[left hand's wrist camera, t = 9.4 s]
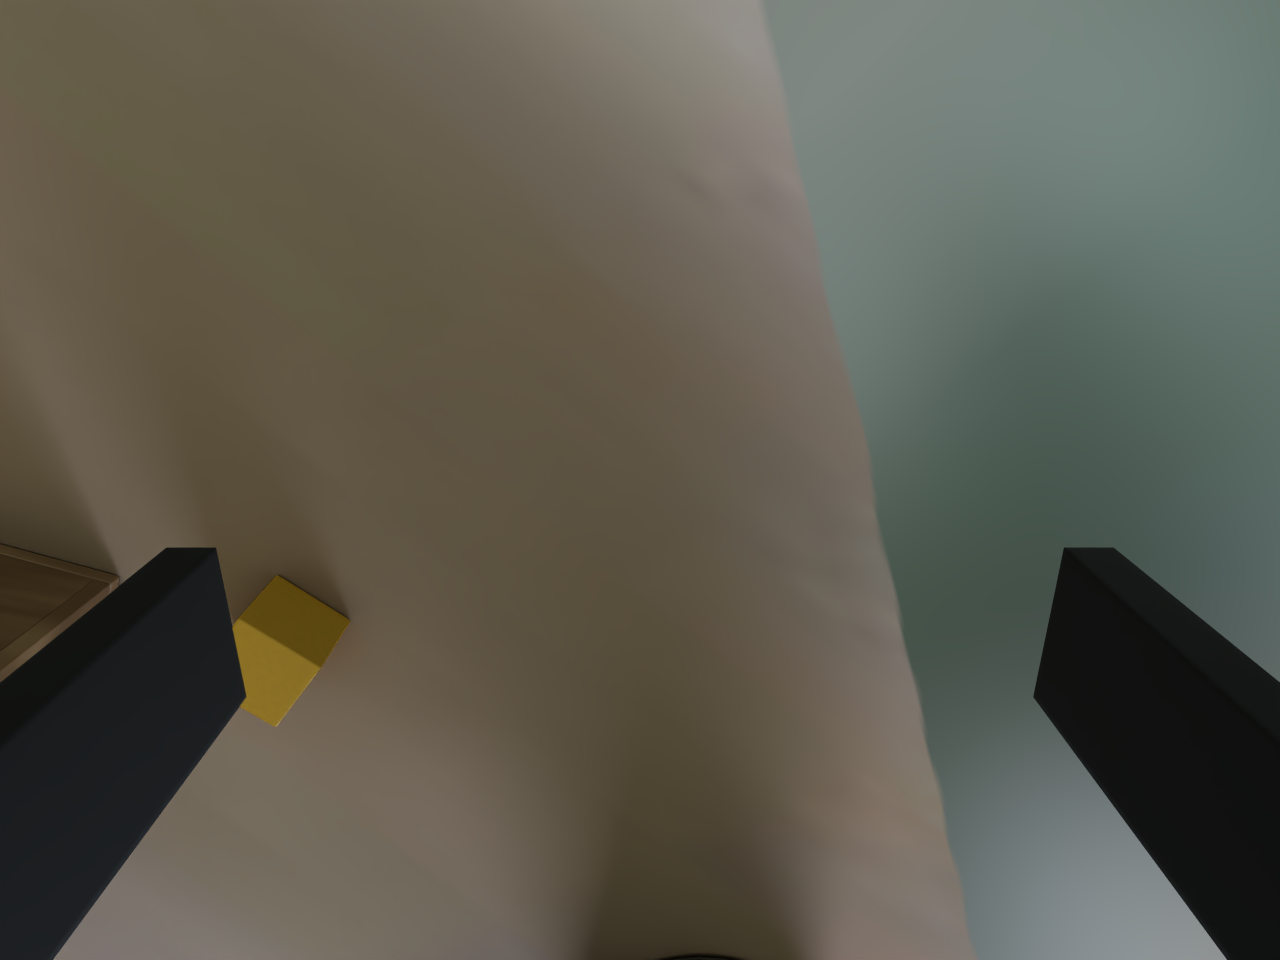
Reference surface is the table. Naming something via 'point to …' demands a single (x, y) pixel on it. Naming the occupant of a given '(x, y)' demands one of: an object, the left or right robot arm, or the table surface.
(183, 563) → the left robot arm
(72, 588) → the chest
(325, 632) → the block
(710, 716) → the table surface
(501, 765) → the table surface
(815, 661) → the table surface
